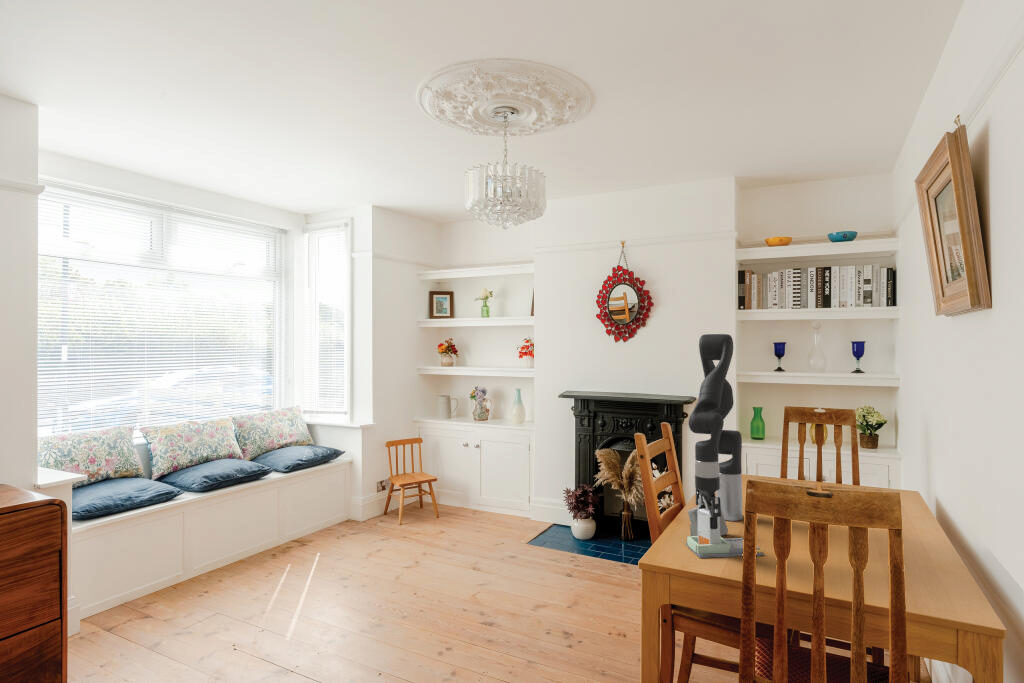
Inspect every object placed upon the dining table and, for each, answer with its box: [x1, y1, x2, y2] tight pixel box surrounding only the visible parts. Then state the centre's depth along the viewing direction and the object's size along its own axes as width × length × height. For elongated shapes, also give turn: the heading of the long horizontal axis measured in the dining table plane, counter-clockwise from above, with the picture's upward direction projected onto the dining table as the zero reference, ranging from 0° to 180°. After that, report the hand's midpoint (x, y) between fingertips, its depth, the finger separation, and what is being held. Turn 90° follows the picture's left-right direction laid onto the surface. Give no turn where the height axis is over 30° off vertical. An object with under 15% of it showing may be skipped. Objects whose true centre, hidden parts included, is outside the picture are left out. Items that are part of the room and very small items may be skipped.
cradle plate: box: [727, 540, 743, 548], centre depth 186 cm, size 7×7×1 cm
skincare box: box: [697, 508, 720, 545], centre depth 185 cm, size 6×4×12 cm
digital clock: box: [687, 506, 729, 537], centre depth 199 cm, size 16×9×11 cm, turn 113°
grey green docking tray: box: [685, 536, 765, 559], centre depth 185 cm, size 12×21×3 cm, turn 94°
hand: (708, 524), depth 185 cm, fingers open, 8 cm apart
